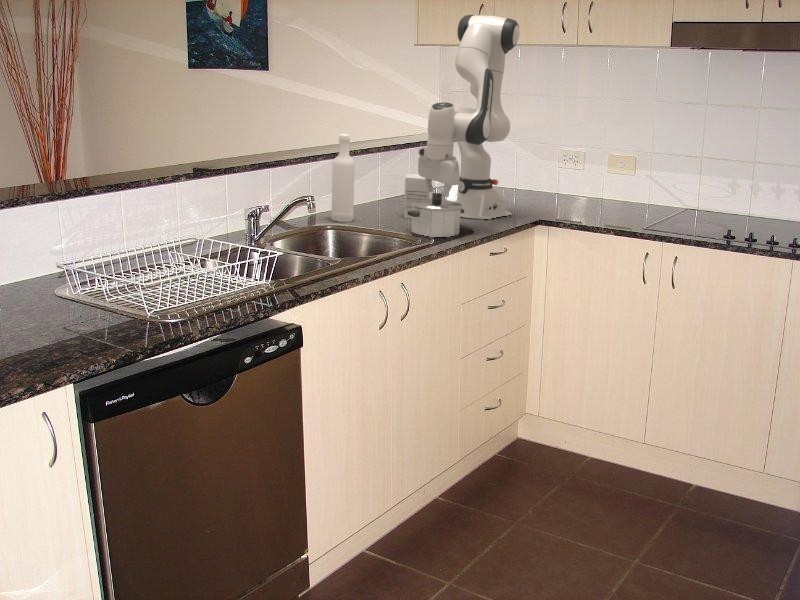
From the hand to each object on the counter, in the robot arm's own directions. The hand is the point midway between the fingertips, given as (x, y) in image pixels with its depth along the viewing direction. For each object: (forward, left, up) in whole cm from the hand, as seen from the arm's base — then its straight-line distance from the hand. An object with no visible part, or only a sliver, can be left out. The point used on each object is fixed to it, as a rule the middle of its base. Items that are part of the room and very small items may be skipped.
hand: (437, 194), depth 296 cm
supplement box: (-8, -25, -13) cm, 29 cm away
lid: (0, 0, -5) cm, 5 cm away
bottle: (+21, -28, -13) cm, 37 cm away
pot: (0, 0, -13) cm, 13 cm away
